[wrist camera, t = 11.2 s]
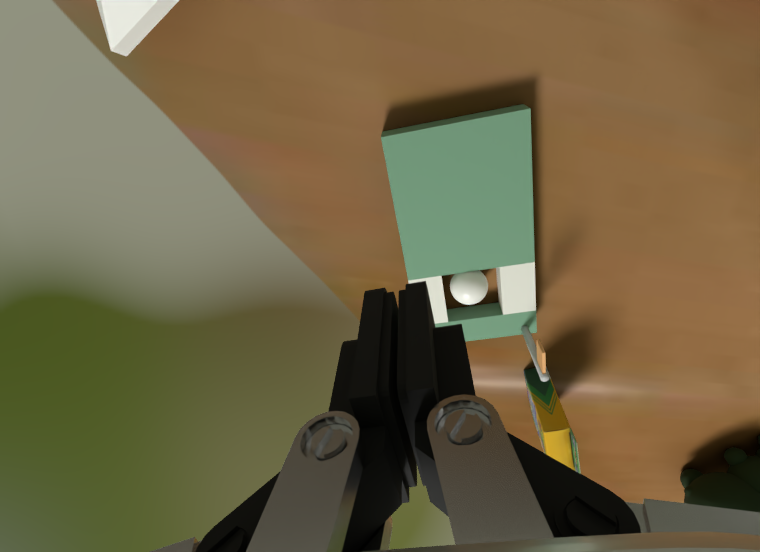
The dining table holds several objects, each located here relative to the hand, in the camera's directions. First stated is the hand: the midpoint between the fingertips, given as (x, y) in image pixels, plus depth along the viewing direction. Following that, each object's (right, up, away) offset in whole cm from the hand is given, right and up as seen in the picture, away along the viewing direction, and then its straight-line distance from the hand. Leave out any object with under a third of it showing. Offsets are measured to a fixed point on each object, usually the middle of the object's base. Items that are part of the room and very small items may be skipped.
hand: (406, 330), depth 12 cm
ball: (+9, 0, +34) cm, 36 cm away
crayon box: (+19, -13, +44) cm, 50 cm away
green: (+8, +6, +34) cm, 35 cm away
